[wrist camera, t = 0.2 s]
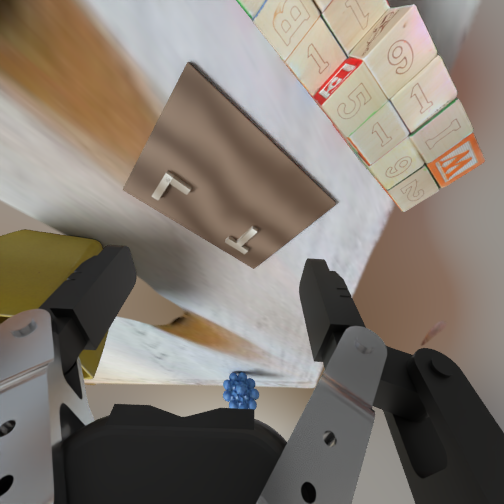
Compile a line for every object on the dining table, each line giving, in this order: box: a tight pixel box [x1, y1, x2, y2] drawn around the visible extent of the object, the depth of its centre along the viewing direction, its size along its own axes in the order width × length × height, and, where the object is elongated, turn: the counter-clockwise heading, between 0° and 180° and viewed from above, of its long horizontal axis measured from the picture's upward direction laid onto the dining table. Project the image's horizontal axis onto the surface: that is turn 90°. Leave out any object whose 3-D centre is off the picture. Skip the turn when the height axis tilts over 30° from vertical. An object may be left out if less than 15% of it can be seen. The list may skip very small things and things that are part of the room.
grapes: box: [223, 372, 259, 410], centre depth 73 cm, size 12×7×12 cm, turn 88°
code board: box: [123, 62, 336, 269], centre depth 32 cm, size 18×24×1 cm
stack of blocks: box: [236, 0, 485, 212], centre depth 19 cm, size 21×6×12 cm, turn 48°
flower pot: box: [0, 229, 109, 379], centre depth 37 cm, size 19×19×17 cm
